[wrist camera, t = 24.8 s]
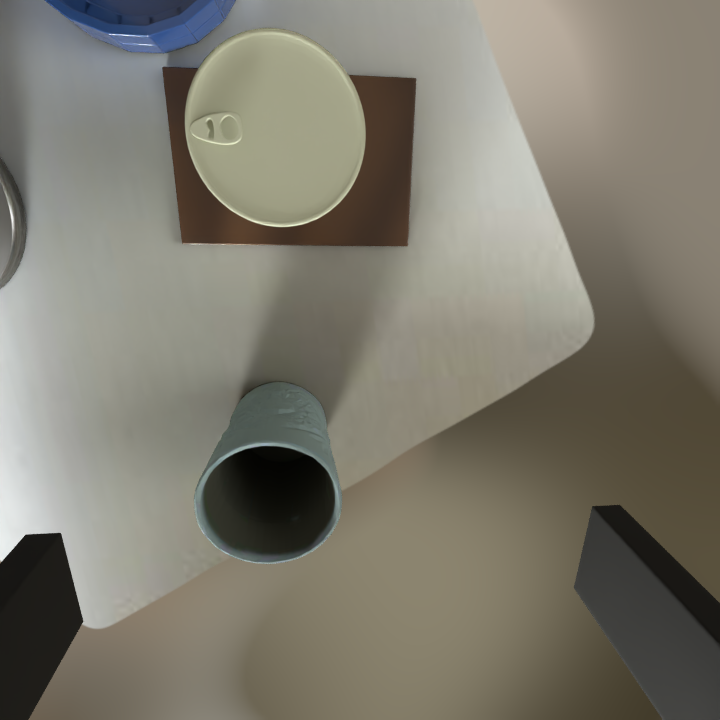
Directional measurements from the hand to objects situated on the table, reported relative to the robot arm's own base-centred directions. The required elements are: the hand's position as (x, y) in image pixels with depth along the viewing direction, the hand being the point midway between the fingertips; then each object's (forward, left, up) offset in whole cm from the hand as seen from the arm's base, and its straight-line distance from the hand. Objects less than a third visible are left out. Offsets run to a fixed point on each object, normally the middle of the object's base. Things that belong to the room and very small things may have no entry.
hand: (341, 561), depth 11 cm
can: (-2, +12, -28) cm, 31 cm away
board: (-2, +11, -29) cm, 31 cm away
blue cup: (-4, -11, -29) cm, 31 cm away
